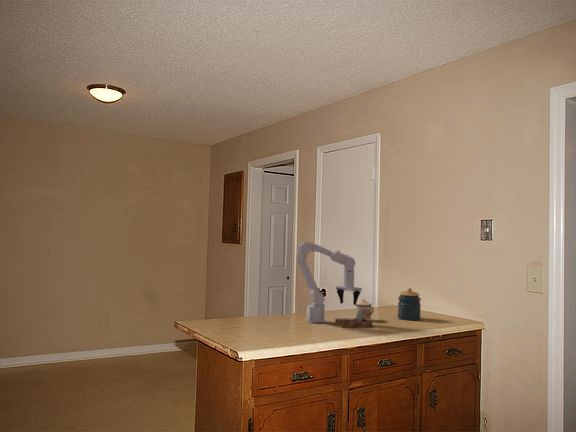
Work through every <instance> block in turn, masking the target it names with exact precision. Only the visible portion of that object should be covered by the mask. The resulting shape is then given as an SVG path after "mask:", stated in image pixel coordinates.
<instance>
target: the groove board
mask: <svg viewBox="0 0 576 432" xmlns="http://www.w3.org/2000/svg"><path fill="white" fill-rule="evenodd" d="M334 324H335V325H338V326H339V327H341V328H351V329H352V328H373V321H371V320H370V321H368V320H366V319H364V318H362V322H356V318H355V317H353V318H343V317H342V318H334Z"/></svg>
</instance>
